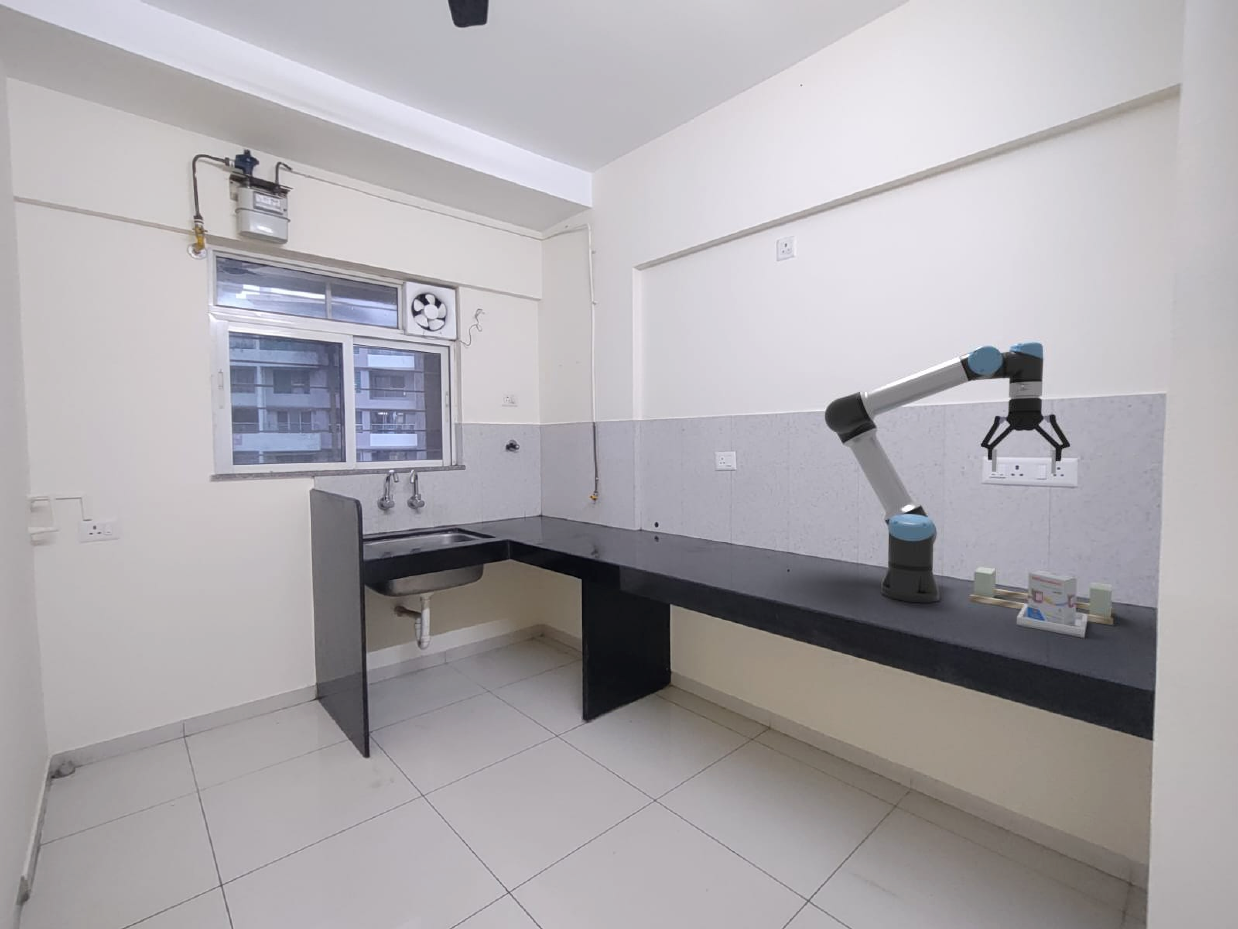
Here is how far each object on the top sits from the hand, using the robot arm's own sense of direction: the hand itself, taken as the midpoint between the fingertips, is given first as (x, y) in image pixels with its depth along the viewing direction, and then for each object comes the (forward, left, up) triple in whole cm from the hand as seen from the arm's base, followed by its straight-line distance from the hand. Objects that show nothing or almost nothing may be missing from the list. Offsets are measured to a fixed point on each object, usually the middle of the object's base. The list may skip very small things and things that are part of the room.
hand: (1022, 472), depth 151 cm
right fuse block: (+18, -5, -37) cm, 41 cm away
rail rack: (+5, -5, -37) cm, 37 cm away
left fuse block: (-8, -5, -37) cm, 38 cm away
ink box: (+9, -20, -36) cm, 42 cm away
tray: (+9, -20, -37) cm, 43 cm away
